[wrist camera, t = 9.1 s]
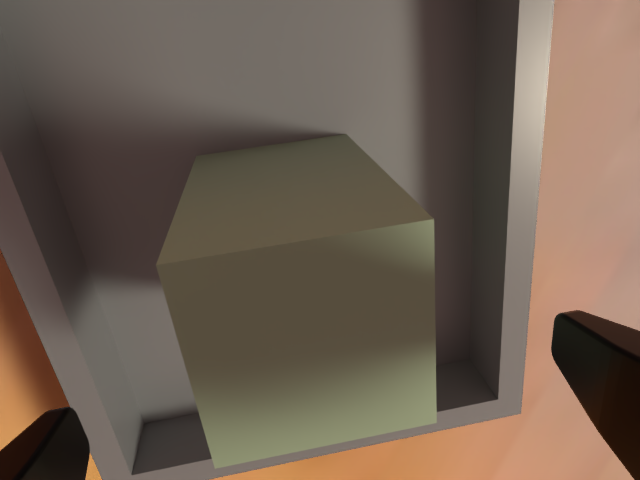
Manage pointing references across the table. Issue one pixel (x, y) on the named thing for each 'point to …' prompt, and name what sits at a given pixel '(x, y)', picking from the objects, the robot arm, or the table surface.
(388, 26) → the bin
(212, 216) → the green block
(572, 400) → the table surface
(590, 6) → the table surface
